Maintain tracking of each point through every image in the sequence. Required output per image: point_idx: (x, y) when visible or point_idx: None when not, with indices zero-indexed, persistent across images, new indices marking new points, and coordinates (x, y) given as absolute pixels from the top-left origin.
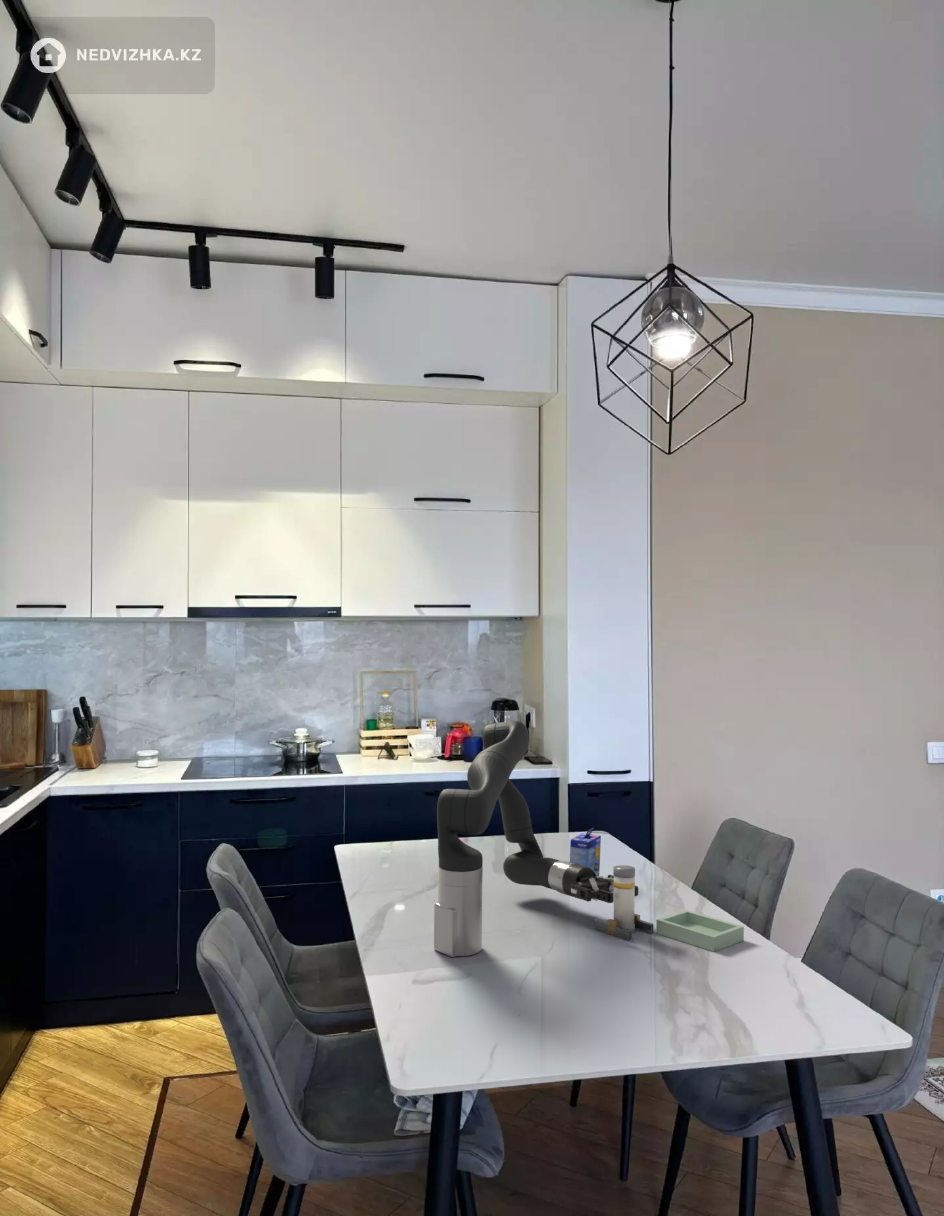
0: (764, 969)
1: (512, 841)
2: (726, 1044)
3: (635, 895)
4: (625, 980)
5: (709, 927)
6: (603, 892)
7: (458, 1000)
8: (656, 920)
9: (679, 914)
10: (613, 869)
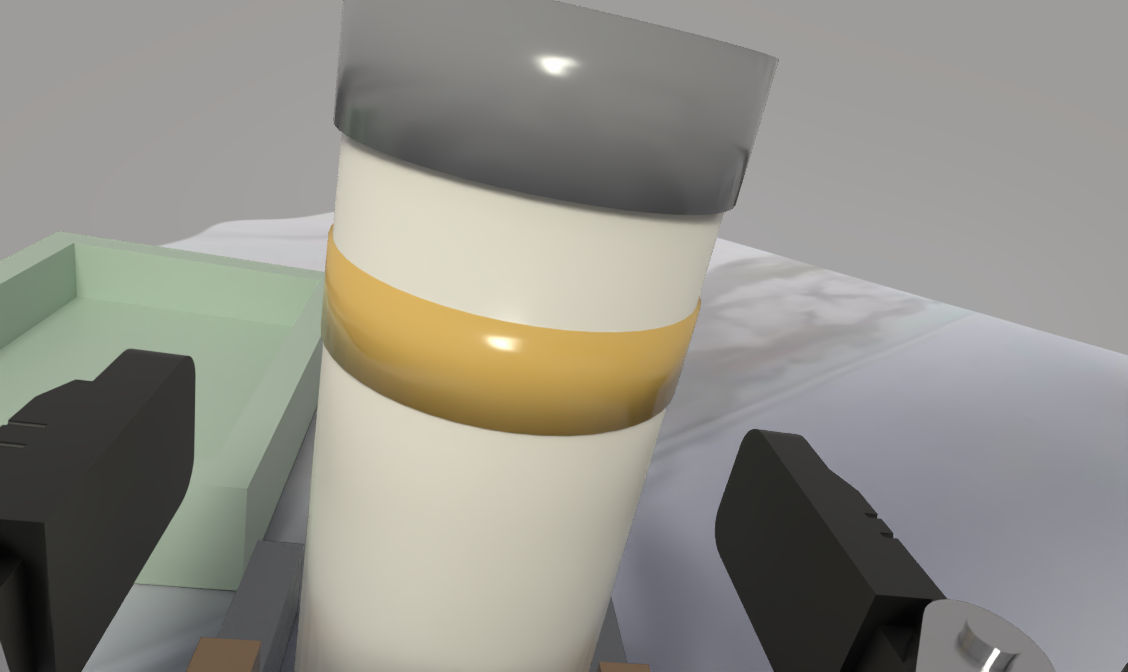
0: None
1: None
2: (810, 273)
3: (186, 478)
4: (903, 432)
5: None
6: (859, 531)
7: None
8: (248, 493)
9: None
10: (752, 91)
